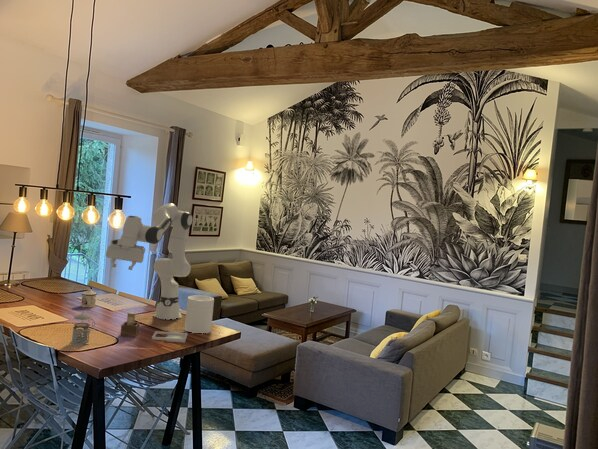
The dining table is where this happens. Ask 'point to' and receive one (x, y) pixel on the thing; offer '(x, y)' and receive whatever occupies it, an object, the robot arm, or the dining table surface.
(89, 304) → the teacup with lid
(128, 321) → the dowel
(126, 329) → the pen pot
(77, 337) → the french press
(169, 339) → the tray
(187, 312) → the canister
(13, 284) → the dining table surface
